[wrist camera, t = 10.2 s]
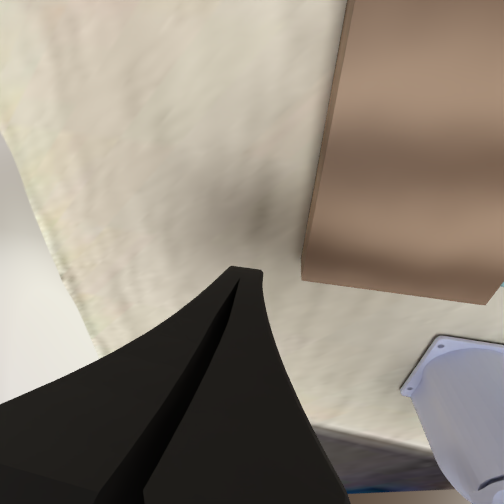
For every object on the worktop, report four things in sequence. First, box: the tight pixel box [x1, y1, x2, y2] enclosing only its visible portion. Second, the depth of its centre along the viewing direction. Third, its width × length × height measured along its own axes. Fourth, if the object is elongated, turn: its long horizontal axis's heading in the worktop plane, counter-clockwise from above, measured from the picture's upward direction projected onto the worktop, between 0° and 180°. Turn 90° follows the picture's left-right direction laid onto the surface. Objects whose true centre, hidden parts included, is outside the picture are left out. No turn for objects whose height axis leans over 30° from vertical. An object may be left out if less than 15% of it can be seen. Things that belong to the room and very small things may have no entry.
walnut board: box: [301, 0, 504, 305], centre depth 13 cm, size 16×12×3 cm
